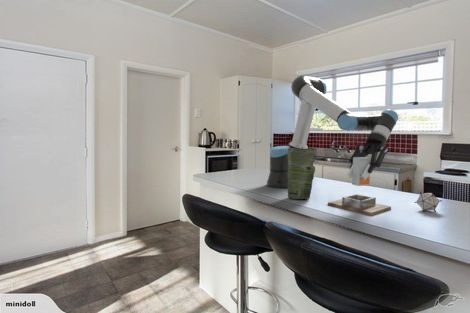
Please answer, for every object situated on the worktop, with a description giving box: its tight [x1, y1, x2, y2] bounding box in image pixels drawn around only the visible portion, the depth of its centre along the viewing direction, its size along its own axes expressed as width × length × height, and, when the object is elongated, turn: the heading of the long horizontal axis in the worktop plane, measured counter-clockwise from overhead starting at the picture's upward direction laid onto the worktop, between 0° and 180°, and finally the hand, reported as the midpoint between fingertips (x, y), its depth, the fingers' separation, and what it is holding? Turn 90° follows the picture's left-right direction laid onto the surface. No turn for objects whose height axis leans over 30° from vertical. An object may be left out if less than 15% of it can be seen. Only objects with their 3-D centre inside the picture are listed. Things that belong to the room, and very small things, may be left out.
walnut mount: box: [327, 193, 392, 216], centre depth 126 cm, size 20×16×4 cm
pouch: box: [287, 147, 318, 200], centre depth 141 cm, size 11×12×25 cm
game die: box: [413, 191, 443, 213], centre depth 120 cm, size 9×8×10 cm
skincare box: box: [351, 156, 371, 187], centre depth 124 cm, size 6×4×12 cm
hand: (356, 176), depth 122 cm, fingers closed on skincare box, 6 cm apart
